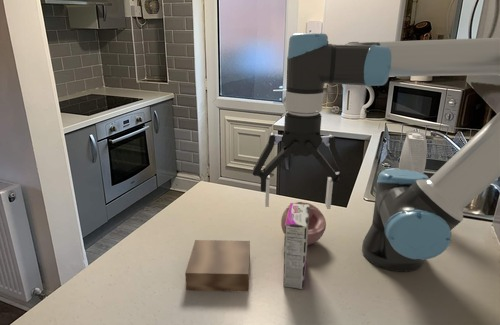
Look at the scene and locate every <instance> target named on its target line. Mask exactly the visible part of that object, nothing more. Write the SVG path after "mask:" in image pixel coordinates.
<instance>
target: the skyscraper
mask: <svg viewBox="0 0 500 325" xmlns="http://www.w3.org/2000/svg"><path fill="white" fill-rule="evenodd" d="M405 135H406V137H405V140H404V142H403V145H402V149H401V153H400V158H399V161H398V162H399V164H398V169H401V170H410V171H415V172H419V173H422V174H425V168H426V165H427V152H428V150H427V148H428V146H427V145H428V144H427V143H428V142H427V141H428V140H427V138H426V134H425V133H423V132H419V131H417V130H416V131H415V130H406V131H405Z"/></svg>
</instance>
